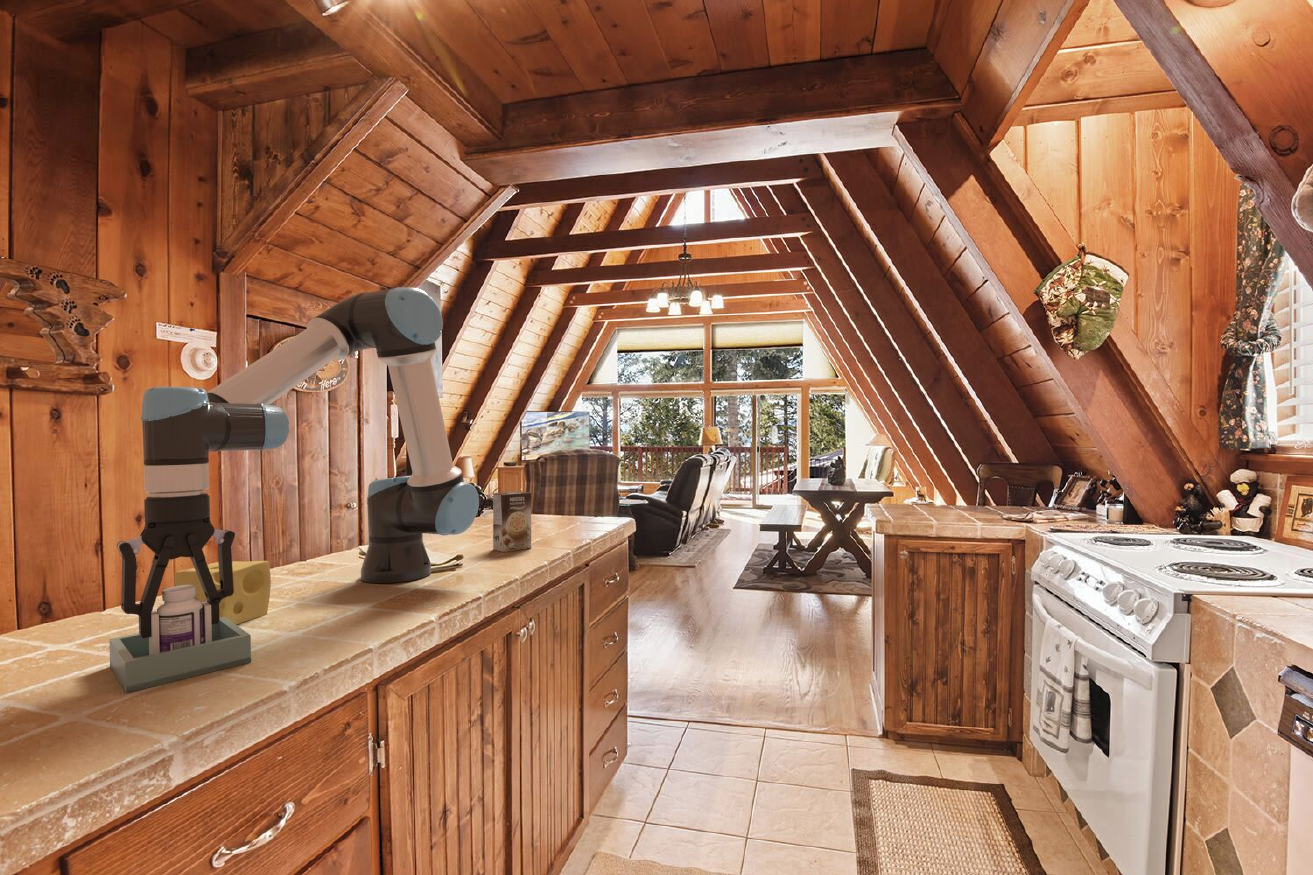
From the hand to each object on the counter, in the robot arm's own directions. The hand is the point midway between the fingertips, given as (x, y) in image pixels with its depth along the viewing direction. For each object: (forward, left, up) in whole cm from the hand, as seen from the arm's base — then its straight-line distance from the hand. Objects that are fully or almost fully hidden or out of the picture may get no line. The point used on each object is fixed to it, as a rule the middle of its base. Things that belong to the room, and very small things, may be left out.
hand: (181, 652), depth 90 cm
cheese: (-10, -21, -2) cm, 23 cm away
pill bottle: (0, 0, -1) cm, 1 cm away
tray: (0, 0, -2) cm, 2 cm away
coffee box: (-83, -37, -2) cm, 91 cm away
